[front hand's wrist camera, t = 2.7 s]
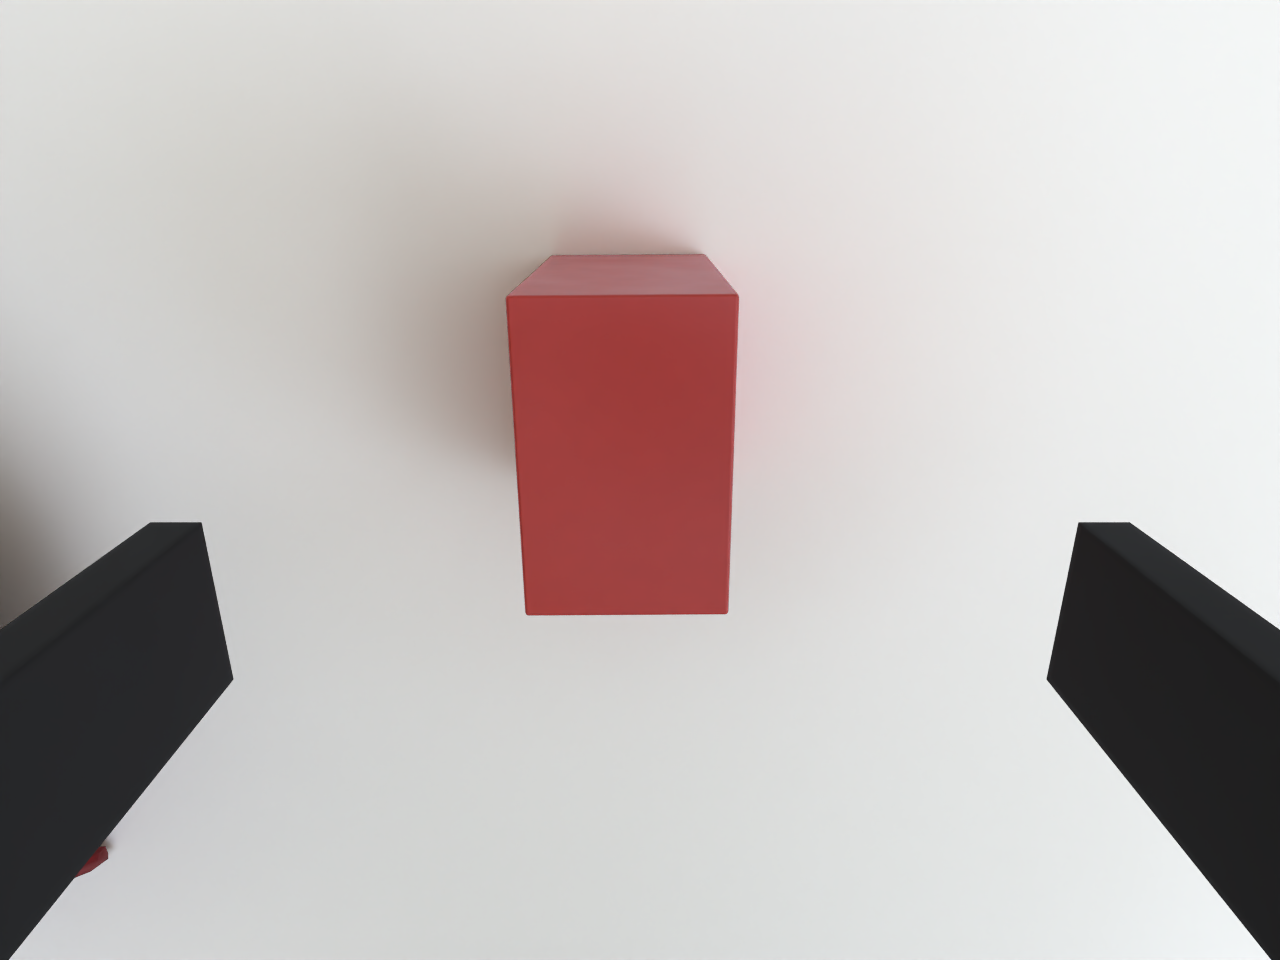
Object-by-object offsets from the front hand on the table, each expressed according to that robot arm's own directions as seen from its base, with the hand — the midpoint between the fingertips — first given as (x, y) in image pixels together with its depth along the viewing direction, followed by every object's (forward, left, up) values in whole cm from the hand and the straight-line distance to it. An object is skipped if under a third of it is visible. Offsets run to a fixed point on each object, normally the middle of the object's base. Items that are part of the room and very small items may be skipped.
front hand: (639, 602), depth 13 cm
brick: (0, 0, -16) cm, 16 cm away
